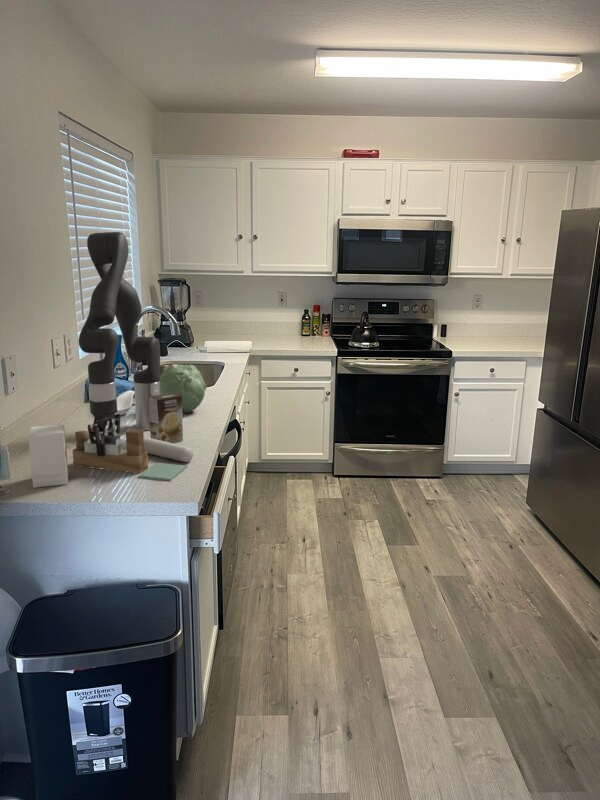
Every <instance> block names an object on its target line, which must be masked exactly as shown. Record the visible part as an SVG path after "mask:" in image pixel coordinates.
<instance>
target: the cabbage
mask: <svg viewBox="0 0 600 800" xmlns="http://www.w3.org/2000/svg"><path fill="white" fill-rule="evenodd" d="M206 390H207V385H206V383H205V380H204V378H203V376H202V373H201V372H200V370H199V369H198V368H197V367H196V366H195V365H193V364H180V363H172V364H171V363H170V364H168V365H167V366H165V368H163V370H162V372H161V374H160V391H161V394H167V393H174V394H179V395H181V396H182V414H184V413H189V412H193V411H194V410H196V409H197V408H198V407H199V406H201V403H202V402H203V400H204V398H205V395H206Z"/></svg>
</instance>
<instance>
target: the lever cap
mask: <svg viewBox="0 0 600 800" xmlns="http://www.w3.org/2000/svg"><path fill="white" fill-rule="evenodd" d="M94 439H95V437H94ZM100 440H101V436H100ZM84 447H85V452H89V453H97V449H96V444H91V442H90V439H89V440H88V441H86V442H84ZM104 447H105V454H109V455H120V454H122V453H123V452H125V451H127V445H126V439H123V438H122V439H121V435H117V436H116V435H107V436H106V437H105V440H104Z"/></svg>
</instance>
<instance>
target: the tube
mask: <svg viewBox="0 0 600 800" xmlns="http://www.w3.org/2000/svg"><path fill="white" fill-rule="evenodd" d="M144 450H145V452H147V454H149V455H153V456H158V457H161V458H164V459H169V460H173V461H177V462H181V461H182V463H189V462H190V461H192V459H193V457H194V452H193V449H192V448H190V447H189V446H184V445H182V444H181V445H180V444H176V443H169V442H164V441H160V440H156V439H151V437H147V436H144Z"/></svg>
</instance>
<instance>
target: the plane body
mask: <svg viewBox="0 0 600 800" xmlns="http://www.w3.org/2000/svg"><path fill="white" fill-rule="evenodd" d="M144 432H145V431H144V430H140V429H137V428H129V429H128V430H126V431H125V440H126V445H127V451H125V452H123V453H122V454H120V455H109V454H105V456H103V457H102V456H98V455H97V453H89V452H85V447H84V442H86V441H88V440H90V438H89V432H88V430H78V431H75V432H74V437H75V446H76V447H75V448H74V449H72V461H73V462H72V464H73V467H78V466H82V467H81V468H87V467H93V468H92V469H96V468H103V469H102V470H106V469H109V470H108V471H115V470H116V472H125V471H128V472H127V473H134V472H136V474H137V473H138V474H141V473H143V472H144V471H145V470H147V469H148V468H149V458H148V457H149V456H148V454H149V453H147V452H145V450H144V437H145V436H144V435H145V434H144Z"/></svg>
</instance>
